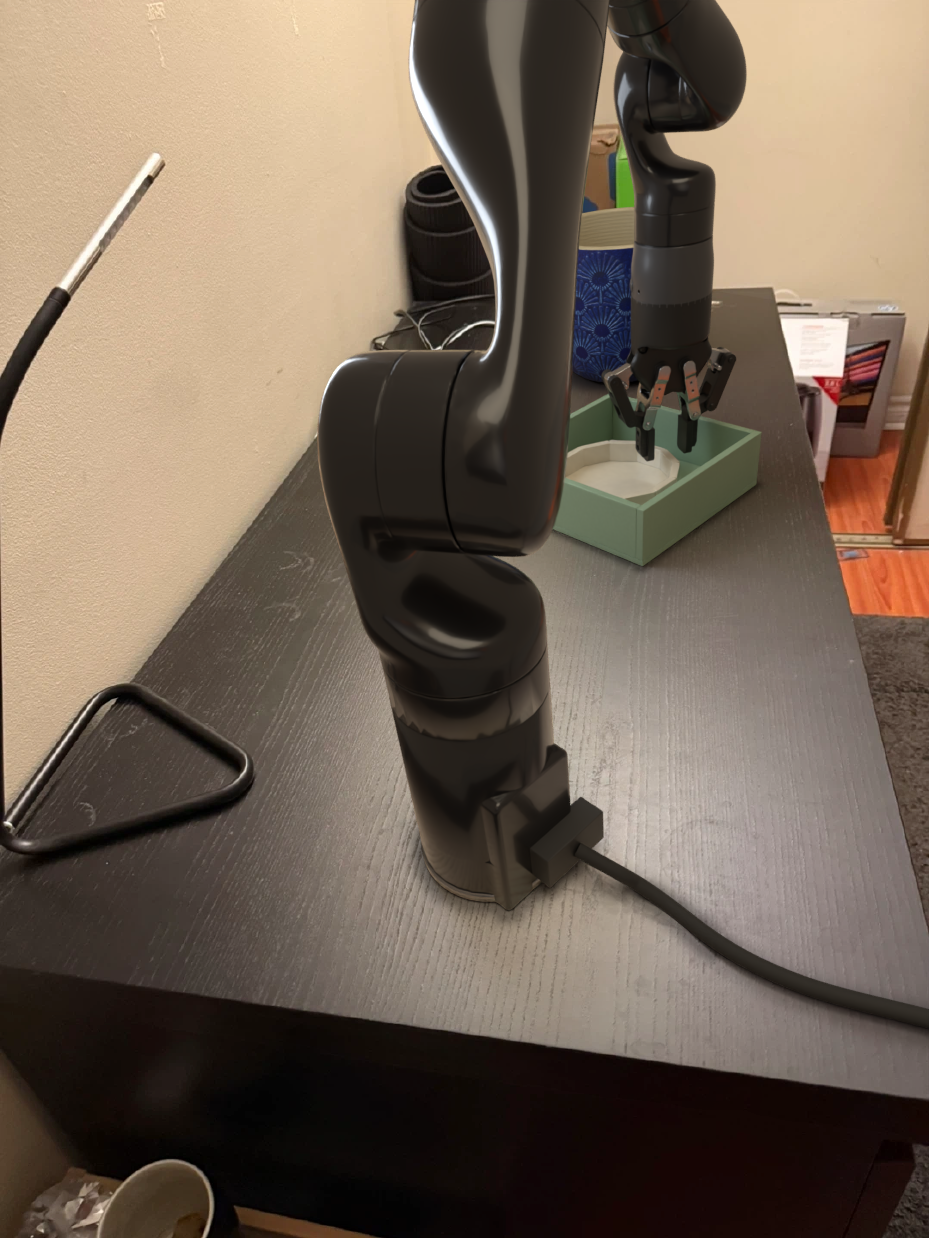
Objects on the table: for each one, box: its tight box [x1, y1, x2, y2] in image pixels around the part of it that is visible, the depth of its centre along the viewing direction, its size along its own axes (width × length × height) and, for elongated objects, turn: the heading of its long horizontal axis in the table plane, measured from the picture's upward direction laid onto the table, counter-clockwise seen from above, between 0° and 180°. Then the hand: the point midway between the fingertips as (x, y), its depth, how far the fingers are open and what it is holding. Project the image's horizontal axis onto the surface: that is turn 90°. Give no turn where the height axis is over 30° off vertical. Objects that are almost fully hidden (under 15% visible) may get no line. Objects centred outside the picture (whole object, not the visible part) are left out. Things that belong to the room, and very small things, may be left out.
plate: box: [565, 440, 680, 505], centre depth 90 cm, size 13×13×3 cm
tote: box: [553, 393, 763, 567], centre depth 89 cm, size 20×20×6 cm
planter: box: [572, 206, 639, 383], centre depth 114 cm, size 21×21×19 cm
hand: (665, 453), depth 90 cm, fingers open, 3 cm apart
